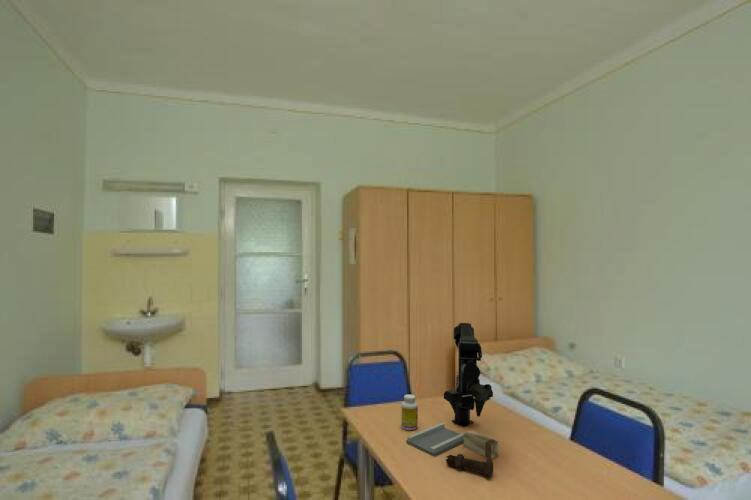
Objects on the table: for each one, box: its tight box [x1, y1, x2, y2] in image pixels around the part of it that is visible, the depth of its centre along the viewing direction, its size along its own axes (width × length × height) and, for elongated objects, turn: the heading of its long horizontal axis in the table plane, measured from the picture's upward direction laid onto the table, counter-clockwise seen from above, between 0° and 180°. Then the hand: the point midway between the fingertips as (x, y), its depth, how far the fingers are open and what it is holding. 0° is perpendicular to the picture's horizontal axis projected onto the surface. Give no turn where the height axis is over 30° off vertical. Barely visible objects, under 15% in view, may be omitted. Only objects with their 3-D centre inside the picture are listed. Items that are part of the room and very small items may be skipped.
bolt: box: [445, 453, 494, 479], centre depth 142 cm, size 6×5×15 cm
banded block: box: [463, 430, 499, 460], centre depth 155 cm, size 4×12×5 cm, turn 42°
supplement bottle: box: [400, 394, 419, 431], centre depth 175 cm, size 7×7×13 cm
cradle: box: [405, 422, 467, 457], centre depth 163 cm, size 20×14×2 cm
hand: (468, 418), depth 155 cm, fingers open, 9 cm apart
